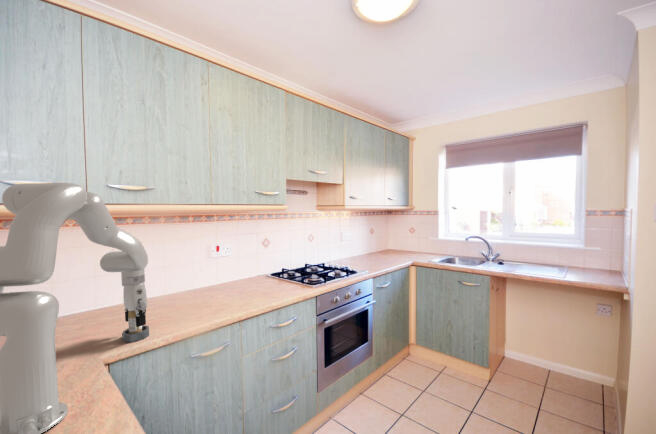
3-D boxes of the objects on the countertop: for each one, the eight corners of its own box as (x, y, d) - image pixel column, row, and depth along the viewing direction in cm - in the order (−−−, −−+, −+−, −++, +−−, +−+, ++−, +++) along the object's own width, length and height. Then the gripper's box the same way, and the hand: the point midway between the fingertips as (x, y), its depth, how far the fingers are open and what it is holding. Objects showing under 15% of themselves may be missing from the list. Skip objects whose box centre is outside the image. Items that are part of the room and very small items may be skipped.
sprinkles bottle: (145, 336, 113) (143, 302, 113) (133, 341, 109) (131, 306, 108) (138, 334, 115) (136, 301, 115) (126, 339, 111) (124, 305, 110)
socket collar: (153, 335, 113) (152, 328, 113) (128, 344, 106) (127, 336, 106) (143, 330, 118) (142, 323, 118) (119, 339, 111) (118, 331, 111)
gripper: (154, 280, 110) (156, 324, 110) (134, 275, 119) (136, 315, 120) (132, 285, 103) (134, 331, 104) (113, 279, 113) (115, 321, 114)
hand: (135, 322), depth 112 cm, fingers open, 9 cm apart
